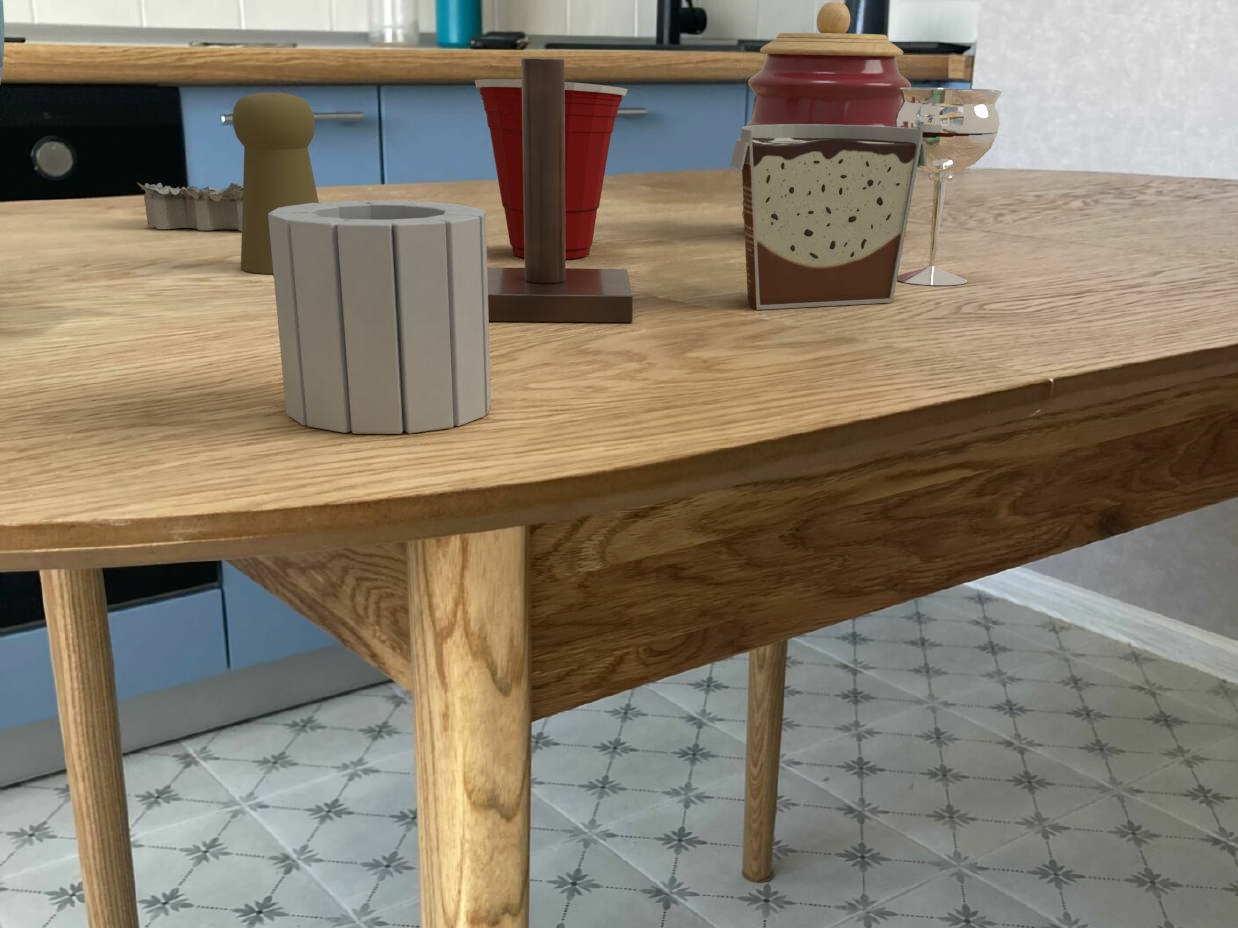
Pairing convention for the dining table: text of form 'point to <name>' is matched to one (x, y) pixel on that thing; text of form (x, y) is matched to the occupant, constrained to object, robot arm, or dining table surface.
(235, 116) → the cork
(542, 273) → the stand
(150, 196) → the egg carton
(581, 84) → the plastic cup
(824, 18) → the kitchen canister
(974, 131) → the wineglass
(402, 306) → the plant pot
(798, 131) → the food container
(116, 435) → the dining table surface
